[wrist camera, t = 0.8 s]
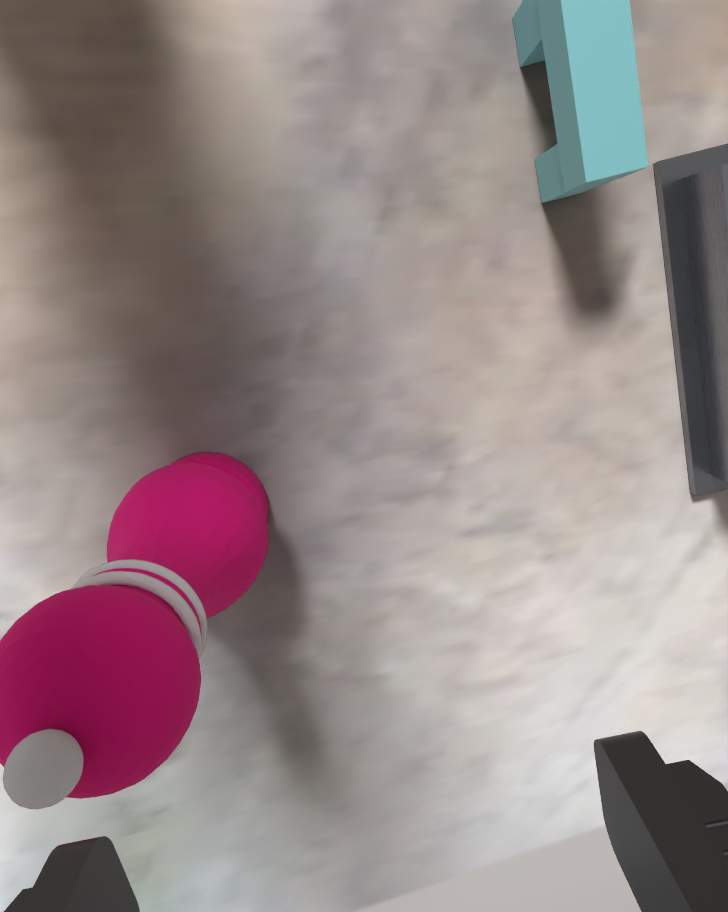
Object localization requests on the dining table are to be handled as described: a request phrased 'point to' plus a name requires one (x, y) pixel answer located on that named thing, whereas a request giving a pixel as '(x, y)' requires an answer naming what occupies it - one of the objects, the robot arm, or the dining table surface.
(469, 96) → the dining table surface
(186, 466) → the pepper mill
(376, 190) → the dining table surface
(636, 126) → the clip
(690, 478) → the grey hollow block
